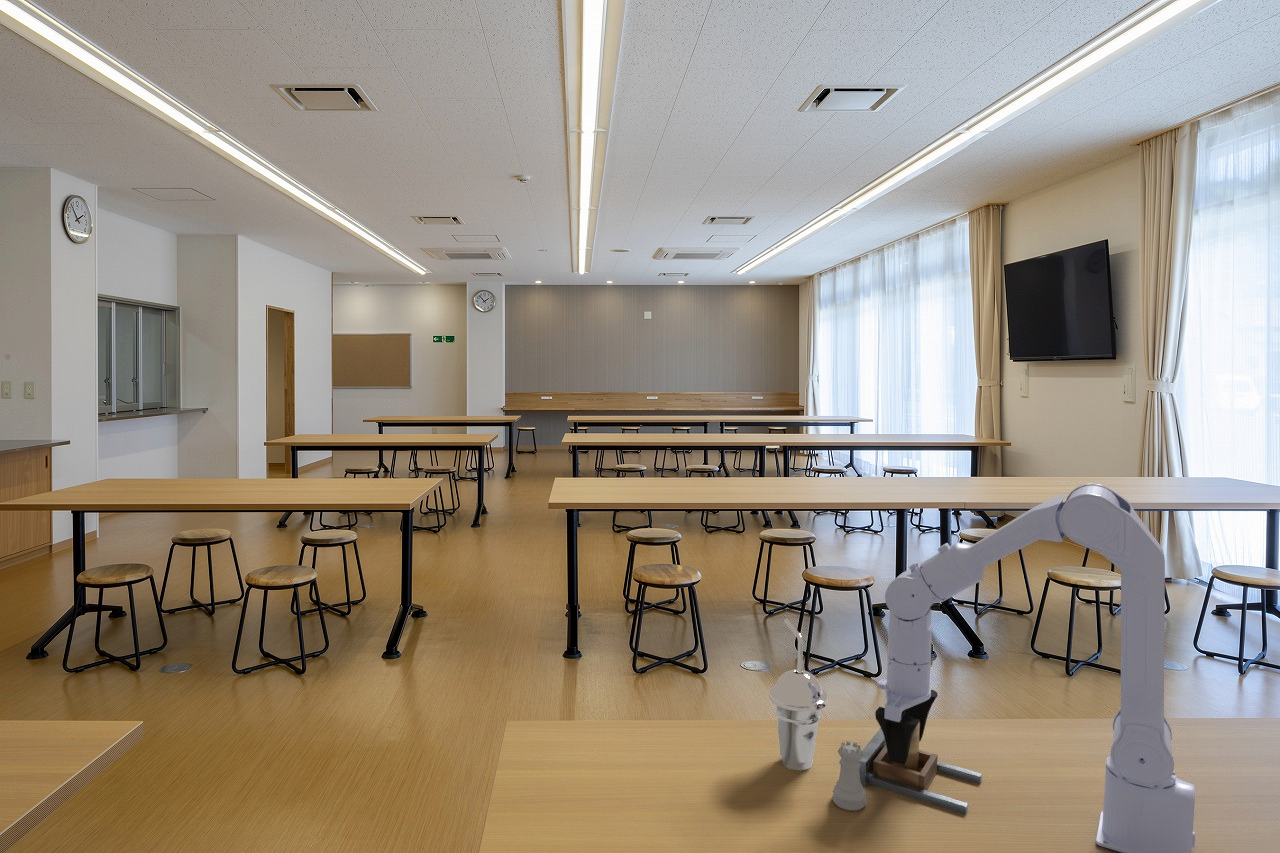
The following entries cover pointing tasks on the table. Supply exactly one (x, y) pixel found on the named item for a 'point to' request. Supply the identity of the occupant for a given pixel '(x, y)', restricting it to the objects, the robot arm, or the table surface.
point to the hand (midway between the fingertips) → (905, 750)
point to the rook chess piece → (849, 779)
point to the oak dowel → (912, 752)
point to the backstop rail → (869, 778)
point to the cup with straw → (797, 712)
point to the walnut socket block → (904, 775)
